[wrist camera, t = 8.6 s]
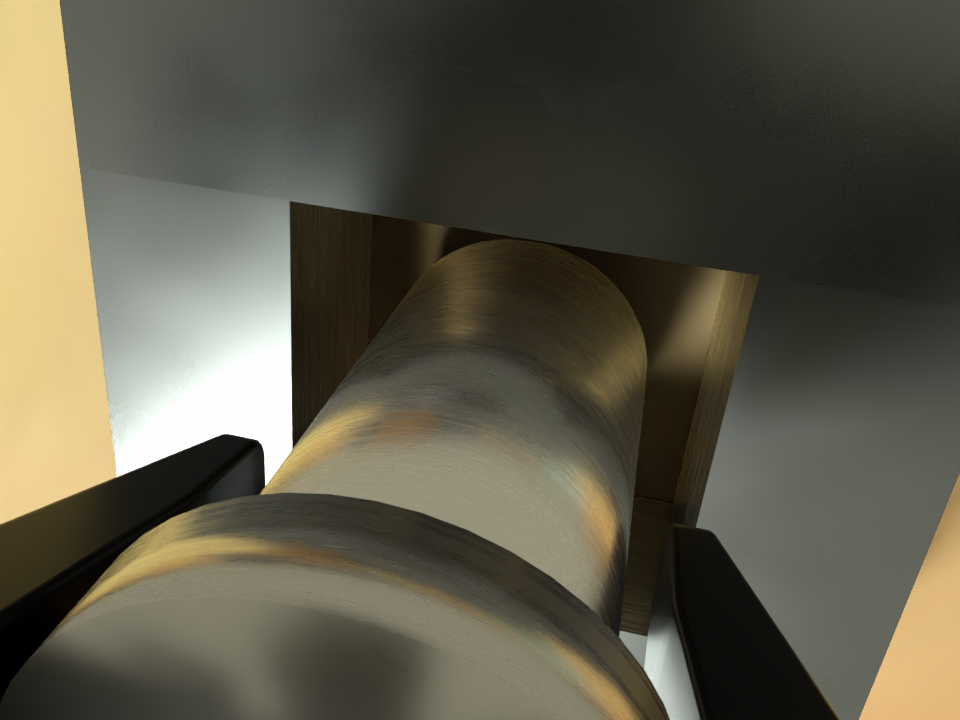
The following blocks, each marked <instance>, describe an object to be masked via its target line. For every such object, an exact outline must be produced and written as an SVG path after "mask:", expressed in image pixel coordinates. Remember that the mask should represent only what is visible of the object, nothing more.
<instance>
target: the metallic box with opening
mask: <svg viewBox="0 0 960 720" xmlns="http://www.w3.org/2000/svg"><path fill="white" fill-rule="evenodd" d="M60 7H61V16H62V24H63V32H64V41H65V49H66V57H67V65H68V74H69V82H70V90H71V99H72V107H73V115H74V124H75V132H76V140H77V148H78V157H79V165H80V173H81V182H82V190H83V198H84V207H85V215H86V223H87V231H88V240H89V248H90V256H91V265H92V273H93V281H94V290H95V298H96V306H97V314H98V323H99V331H100V339H101V348H102V356H103V364H104V373H105V381H106V389H107V397H108V406H109V414H110V422H111V431H112V439H113V447H114V456H115V464H116V472H117V477H118V476H121V475H123V474H126V473H128V472H130V471H133V470H135V469H138V468H140V467H143V466H145V465H148V464H150V463H152V462H155V461H157V460H160V459H162V458H165V457H167V456H170V455H172V454H175V453H177V452H179V451H182V450H184V449H187V448H189V447H192V446H194V445H197V444H199V443H201V442H204V441H206V440H209V439H211V438H214V437H216V436H219V435H222V434H231V435H236V436H241V437H246V438H251V439H256V440H258V441H259V442H260V443H261V444H262V446H263V449H264V454H265V486H266V485H267V483H268V482H269V480H270V479H271V478H272V476H273V475H274V474H275V472H276V471H277V470H278V468H279V467H280V465H281V464H282V463H283V461H284V460H285V459H286V457H287V456H288V455H289V453H290V452H291V450H292V449H293V448H294V446H295V445H296V444H297V442H298V441H299V440H300V438H301V437H302V435H303V434H304V433H305V431H306V430H307V429H308V427H309V426H310V425H311V423H312V422H313V420H314V419H315V418H316V416H317V415H318V414H319V412H320V411H321V410H322V408H323V407H324V406H325V404H326V403H327V401H328V400H329V399H330V397H331V396H332V395H333V393H334V392H335V391H336V389H337V388H338V386H339V385H340V384H341V382H342V381H343V380H344V378H345V377H346V376H347V374H348V373H349V371H350V370H351V369H352V367H353V366H354V365H355V363H356V362H357V361H358V359H359V358H360V356H361V355H362V354H363V352H364V351H365V350H366V348H367V347H368V334H369V305H370V276H371V248H372V219H373V214H374V215H381V216H387V217H393V218H400V219H406V220H412V221H419V222H425V223H431V224H437V225H444V226H450V227H456V228H463V229H469V230H475V231H482V232H488V233H494V234H500V235H507V236H513V237H519V238H526V239H532V240H538V241H545V242H551V243H557V244H563V245H570V246H576V247H582V248H589V249H595V250H601V251H608V252H614V253H620V254H626V255H633V256H639V257H645V258H652V259H658V260H664V261H671V262H677V263H683V264H689V265H696V266H702V267H708V268H715V269H721V270H727V273H726V277H725V282H724V286H723V290H722V294H721V299H720V303H719V307H718V312H717V316H716V320H715V324H714V329H713V333H712V337H711V342H710V346H709V350H708V354H707V359H706V363H705V367H704V372H703V376H702V380H701V384H700V389H699V393H698V397H697V402H696V406H695V410H694V414H693V419H692V423H691V427H690V432H689V436H688V440H687V444H686V449H685V453H684V457H683V461H682V466H681V470H680V474H679V479H678V483H677V487H676V491H675V496H674V500H673V503H670V502H665V501H660V500H655V499H650V498H645V497H640V496H634V500H633V509H632V519H631V528H630V538H629V547H628V557H627V567H626V576H625V586H624V595H623V605H622V614H621V624H620V633H619V638H620V639H621V640H622V641H623V643H624V644H625V645H626V647H627V648H628V649H629V651H630V652H631V653H632V654H633V656H634V657H635V658H636V660H637V661H638V662H639V664H640V665H641V666H642V668H643V669H644V665H645V656H646V647H647V639H648V630H649V621H650V612H651V605H652V598H653V593H654V588H655V583H656V579H657V575H658V571H659V566H660V562H661V558H662V553H663V549H664V545H665V541H666V537H667V533H668V530H669V528H670V527H671V526H672V525H673V524H681V525H686V526H691V527H696V528H701V529H706V530H710V531H712V532H713V533H714V534H715V535H716V536H717V538H718V539H719V541H720V542H721V544H722V545H723V547H724V548H725V550H726V551H727V553H728V554H729V556H730V557H731V559H732V560H733V562H734V563H735V564H736V566H737V567H738V569H739V570H740V572H741V573H742V575H743V576H744V578H745V579H746V581H747V582H748V584H749V585H750V587H751V588H752V590H753V591H754V593H755V594H756V596H757V597H758V598H759V600H760V601H761V603H762V604H763V606H764V607H765V609H766V610H767V612H768V613H769V615H770V616H771V618H772V619H773V621H774V622H775V624H776V625H777V627H778V628H779V630H780V631H781V632H782V634H783V635H784V637H785V638H786V640H787V641H788V643H789V644H790V646H791V647H792V649H793V650H794V652H795V653H796V655H797V656H798V658H799V659H800V661H801V662H802V664H803V665H804V666H805V668H806V669H807V671H808V672H809V674H810V675H811V677H812V678H813V680H814V681H815V683H816V684H817V686H818V687H819V689H820V690H821V692H822V693H823V695H824V696H825V698H826V699H827V700H828V702H829V703H830V705H831V706H832V708H833V709H834V711H835V712H836V714H837V715H838V717H839V718H840V720H859V717H860V715H861V712H862V710H863V708H864V705H865V703H866V700H867V698H868V695H869V693H870V690H871V688H872V686H873V683H874V681H875V678H876V676H877V673H878V671H879V668H880V666H881V664H882V661H883V659H884V656H885V654H886V651H887V649H888V646H889V644H890V642H891V639H892V637H893V634H894V632H895V629H896V627H897V625H898V622H899V620H900V617H901V615H902V612H903V610H904V607H905V605H906V603H907V600H908V598H909V595H910V593H911V590H912V588H913V585H914V583H915V581H916V578H917V576H918V573H919V571H920V568H921V566H922V563H923V561H924V559H925V556H926V554H927V551H928V549H929V546H930V544H931V541H932V539H933V537H934V534H935V532H936V529H937V527H938V524H939V522H940V519H941V517H942V515H943V512H944V510H945V507H946V505H947V502H948V500H949V497H950V495H951V493H952V490H953V488H954V485H955V483H956V480H957V478H958V475H959V473H960V0H60Z"/></svg>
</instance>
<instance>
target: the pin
mask: <svg viewBox="0 0 960 720" xmlns="http://www.w3.org/2000/svg"><path fill="white" fill-rule="evenodd" d="M646 376H647V352H646V346H645V341H644V336H643V333H642V330H641V327H640V324H639V321H638V319H637V317H636V315H635V313H634V311H633V309H632V307H631V306H630V304H629V303H628V301H627V300H626V298H625V297H624V295H623V294H622V293H621V291H620V290H619V289H618V288H617V287H616V286H615V285H614V284H613V282H612V281H611V280H610V279H609V278H607V277H606V276H605V275H604V274H603V273H602V272H601V271H599V270H598V269H597V268H596V267H594V266H593V265H591V264H590V263H588V262H587V261H585V260H584V259H582V258H580V257H578V256H576V255H574V254H572V253H570V252H568V251H566V250H563V249H560V248H558V247H555V246H552V245H549V244H545V243H540V242H536V241H531V240H520V239H496V240H490V241H484V242H479V243H475V244H472V245H469V246H466V247H463V248H461V249H458V250H456V251H454V252H452V253H450V254H448V255H446V256H445V257H443V258H442V259H440V260H438V261H437V262H435V263H434V264H433V265H432V266H431V267H430V268H428V269H427V270H426V271H425V272H424V273H423V274H422V275H421V276H420V277H419V278H418V280H417V281H416V282H415V283H414V284H413V286H412V287H411V288H410V290H409V291H408V292H407V294H406V295H405V297H404V298H403V299H402V301H401V302H400V303H399V305H398V306H397V307H396V309H395V310H394V312H393V313H392V314H391V316H390V317H389V318H388V320H387V321H386V322H385V324H384V325H383V326H382V328H381V329H380V331H379V332H378V333H377V335H376V336H375V337H374V339H373V340H372V341H371V343H370V344H369V346H368V347H367V348H366V350H365V351H364V352H363V354H362V355H361V356H360V358H359V359H358V361H357V362H356V363H355V365H354V366H353V367H352V369H351V370H350V371H349V373H348V374H347V376H346V377H345V378H344V380H343V381H342V382H341V384H340V385H339V386H338V388H337V389H336V391H335V392H334V393H333V395H332V396H331V397H330V399H329V400H328V401H327V403H326V404H325V406H324V407H323V408H322V410H321V411H320V412H319V414H318V415H317V416H316V418H315V419H314V420H313V422H312V423H311V425H310V426H309V427H308V429H307V430H306V431H305V433H304V434H303V435H302V437H301V438H300V440H299V441H298V442H297V444H296V445H295V446H294V448H293V449H292V450H291V452H290V453H289V455H288V456H287V457H286V459H285V460H284V461H283V463H282V464H281V465H280V467H279V468H278V470H277V471H276V472H275V474H274V475H273V476H272V478H271V479H270V480H269V482H268V483H267V485H266V486H265V487H264V489H263V490H262V491H261V493H260V494H259V495H251V496H243V497H238V498H233V499H229V500H224V501H220V502H215V503H211V504H206V505H204V506H201V507H198V508H196V509H193V510H191V511H188V512H185V513H183V514H180V515H177V516H175V517H172V518H171V519H169V520H167V521H166V522H164V523H162V524H160V525H159V526H157V527H155V528H153V529H152V530H150V531H148V532H147V533H145V534H144V535H142V536H141V537H140V538H139V539H138V540H136V541H135V542H134V543H133V544H132V545H131V546H129V547H128V548H127V549H126V550H125V551H123V552H122V553H121V554H120V555H119V556H118V558H117V559H116V560H115V561H114V562H113V563H112V564H111V566H110V567H109V568H108V569H107V570H106V571H105V572H104V573H103V575H102V576H101V577H100V578H99V579H98V580H97V581H96V583H95V584H94V585H93V586H92V587H91V588H90V589H89V591H88V592H87V593H86V594H85V595H84V596H83V597H82V598H81V600H80V601H79V602H78V603H77V604H76V605H75V606H74V608H73V609H72V610H71V611H70V612H69V613H68V614H67V616H66V617H65V618H64V619H63V620H62V621H61V622H60V624H59V625H58V626H57V627H56V628H55V629H54V630H53V631H52V633H51V634H50V635H49V636H48V637H47V638H46V639H45V641H44V642H43V643H42V644H41V645H40V646H39V647H38V649H37V650H36V651H35V652H34V653H33V654H32V655H31V657H30V658H29V659H28V660H27V661H26V663H25V664H24V665H23V666H22V668H21V669H20V670H19V671H18V673H17V674H16V675H15V676H14V678H13V679H12V680H11V681H10V683H9V685H8V687H7V689H6V692H5V694H4V696H3V698H2V700H1V702H0V720H670V718H669V716H668V713H667V710H666V708H665V705H664V703H663V701H662V700H661V698H660V696H659V694H658V693H657V691H656V689H655V687H654V686H653V684H652V682H651V680H650V679H649V677H648V675H647V673H646V672H645V670H644V669H643V668H642V666H641V665H640V664H639V662H638V661H637V660H636V658H635V657H634V656H633V654H632V653H631V652H630V651H629V649H628V648H627V647H626V645H625V644H624V643H623V641H622V640H621V639H620V638H619V633H620V624H621V614H622V605H623V595H624V586H625V576H626V567H627V557H628V547H629V538H630V528H631V519H632V509H633V500H634V490H635V481H636V471H637V461H638V452H639V442H640V433H641V423H642V414H643V404H644V395H645V385H646Z"/></svg>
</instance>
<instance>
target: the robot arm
mask: <svg viewBox="0 0 960 720" xmlns="http://www.w3.org/2000/svg"><path fill="white" fill-rule="evenodd" d="M264 487H265V454H264V449H263V446H262V444H261V443H260V442H259V441H258V440H256V439H251V438H246V437H241V436H236V435H231V434H222V435H219V436H216V437H214V438H211V439H209V440H206V441H204V442H201V443H199V444H197V445H194V446H192V447H189V448H187V449H184V450H182V451H179V452H177V453H175V454H172V455H170V456H167V457H165V458H162V459H160V460H157V461H155V462H152V463H150V464H148V465H145V466H143V467H140V468H138V469H135V470H133V471H130V472H128V473H126V474H123V475H121V476H118V477H116V478H113V479H111V480H108V481H106V482H103V483H101V484H99V485H96V486H94V487H91V488H89V489H86V490H84V491H81V492H79V493H76V494H74V495H72V496H69V497H67V498H64V499H62V500H59V501H57V502H54V503H52V504H49V505H47V506H45V507H42V508H40V509H37V510H35V511H32V512H30V513H27V514H25V515H22V516H20V517H18V518H15V519H13V520H10V521H8V522H5V523H3V524H0V702H1V700H2V698H3V696H4V694H5V692H6V689H7V687H8V685H9V683H10V681H11V680H12V679H13V678H14V676H15V675H16V674H17V673H18V671H19V670H20V669H21V668H22V666H23V665H24V664H25V663H26V661H27V660H28V659H29V658H30V657H31V655H32V654H33V653H34V652H35V651H36V650H37V649H38V647H39V646H40V645H41V644H42V643H43V642H44V641H45V639H46V638H47V637H48V636H49V635H50V634H51V633H52V631H53V630H54V629H55V628H56V627H57V626H58V625H59V624H60V622H61V621H62V620H63V619H64V618H65V617H66V616H67V614H68V613H69V612H70V611H71V610H72V609H73V608H74V606H75V605H76V604H77V603H78V602H79V601H80V600H81V598H82V597H83V596H84V595H85V594H86V593H87V592H88V591H89V589H90V588H91V587H92V586H93V585H94V584H95V583H96V581H97V580H98V579H99V578H100V577H101V576H102V575H103V573H104V572H105V571H106V570H107V569H108V568H109V567H110V566H111V564H112V563H113V562H114V561H115V560H116V559H117V558H118V556H119V555H120V554H121V553H122V552H123V551H125V550H126V549H127V548H128V547H129V546H131V545H132V544H133V543H134V542H135V541H136V540H138V539H139V538H140V537H141V536H142V535H144V534H145V533H147V532H148V531H150V530H152V529H153V528H155V527H157V526H159V525H160V524H162V523H164V522H166V521H167V520H169V519H171V518H172V517H175V516H177V515H180V514H183V513H185V512H188V511H191V510H193V509H196V508H198V507H201V506H204V505H206V504H211V503H215V502H220V501H224V500H229V499H233V498H238V497H243V496H251V495H259V494H260V493H261V491H262V490H263V489H264ZM644 670H645V672H646V673H647V675H648V677H649V679H650V680H651V682H652V684H653V686H654V687H655V689H656V691H657V693H658V694H659V696H660V698H661V700H662V701H663V703H664V705H665V708H666V710H667V713H668V716H669V718H670V720H840V718H839V717H838V715H837V714H836V712H835V711H834V709H833V708H832V706H831V705H830V703H829V702H828V700H827V699H826V698H825V696H824V695H823V693H822V692H821V690H820V689H819V687H818V686H817V684H816V683H815V681H814V680H813V678H812V677H811V675H810V674H809V672H808V671H807V669H806V668H805V666H804V665H803V664H802V662H801V661H800V659H799V658H798V656H797V655H796V653H795V652H794V650H793V649H792V647H791V646H790V644H789V643H788V641H787V640H786V638H785V637H784V635H783V634H782V632H781V631H780V630H779V628H778V627H777V625H776V624H775V622H774V621H773V619H772V618H771V616H770V615H769V613H768V612H767V610H766V609H765V607H764V606H763V604H762V603H761V601H760V600H759V598H758V597H757V596H756V594H755V593H754V591H753V590H752V588H751V587H750V585H749V584H748V582H747V581H746V579H745V578H744V576H743V575H742V573H741V572H740V570H739V569H738V567H737V566H736V564H735V563H734V562H733V560H732V559H731V557H730V556H729V554H728V553H727V551H726V550H725V548H724V547H723V545H722V544H721V542H720V541H719V539H718V538H717V536H716V535H715V534H714V533H713V532H712V531H710V530H706V529H701V528H696V527H691V526H686V525H681V524H673V525H672V526H671V527H670V528H669V530H668V533H667V537H666V541H665V545H664V549H663V553H662V558H661V562H660V566H659V571H658V575H657V579H656V583H655V588H654V593H653V598H652V605H651V612H650V621H649V630H648V639H647V647H646V656H645V665H644Z"/></svg>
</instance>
